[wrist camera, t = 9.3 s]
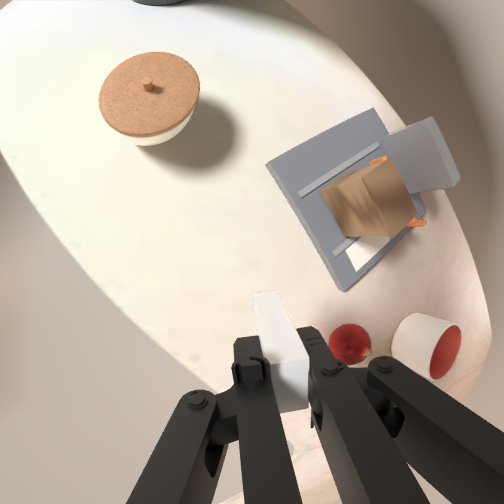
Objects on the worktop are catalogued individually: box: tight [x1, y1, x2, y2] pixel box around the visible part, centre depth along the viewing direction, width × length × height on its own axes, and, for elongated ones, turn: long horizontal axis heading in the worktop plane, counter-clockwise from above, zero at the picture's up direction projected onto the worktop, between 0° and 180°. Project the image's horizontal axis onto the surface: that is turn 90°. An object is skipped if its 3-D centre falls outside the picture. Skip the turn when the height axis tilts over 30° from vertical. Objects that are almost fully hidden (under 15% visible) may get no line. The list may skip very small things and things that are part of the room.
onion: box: [328, 324, 371, 365], centre depth 34 cm, size 6×6×8 cm
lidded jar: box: [99, 52, 200, 146], centre depth 26 cm, size 11×11×9 cm
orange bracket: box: [369, 156, 427, 227], centre depth 35 cm, size 11×1×5 cm, turn 34°
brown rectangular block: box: [320, 157, 418, 238], centre depth 31 cm, size 7×5×10 cm
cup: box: [391, 313, 462, 381], centre depth 38 cm, size 10×10×10 cm
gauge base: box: [265, 108, 461, 291], centre depth 33 cm, size 20×22×12 cm
